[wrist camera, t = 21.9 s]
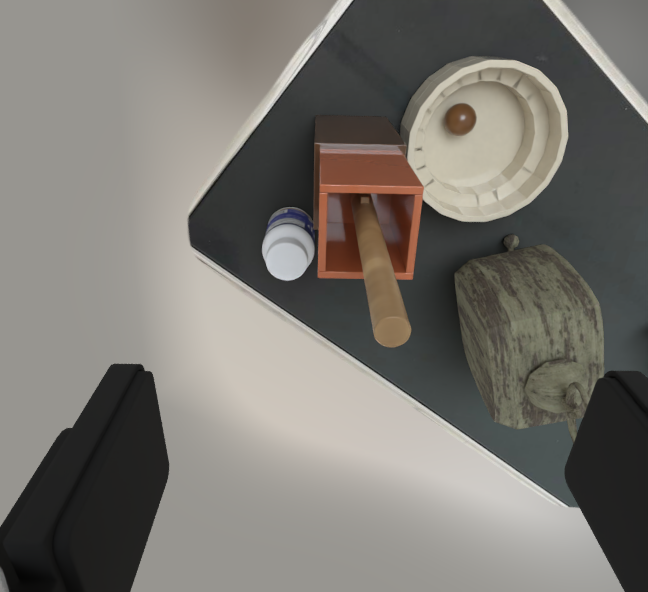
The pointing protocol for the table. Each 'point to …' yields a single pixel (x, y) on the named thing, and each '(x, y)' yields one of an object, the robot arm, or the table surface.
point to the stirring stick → (379, 275)
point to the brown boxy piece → (363, 177)
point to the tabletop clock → (530, 335)
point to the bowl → (485, 137)
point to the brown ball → (460, 119)
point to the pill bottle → (289, 243)
